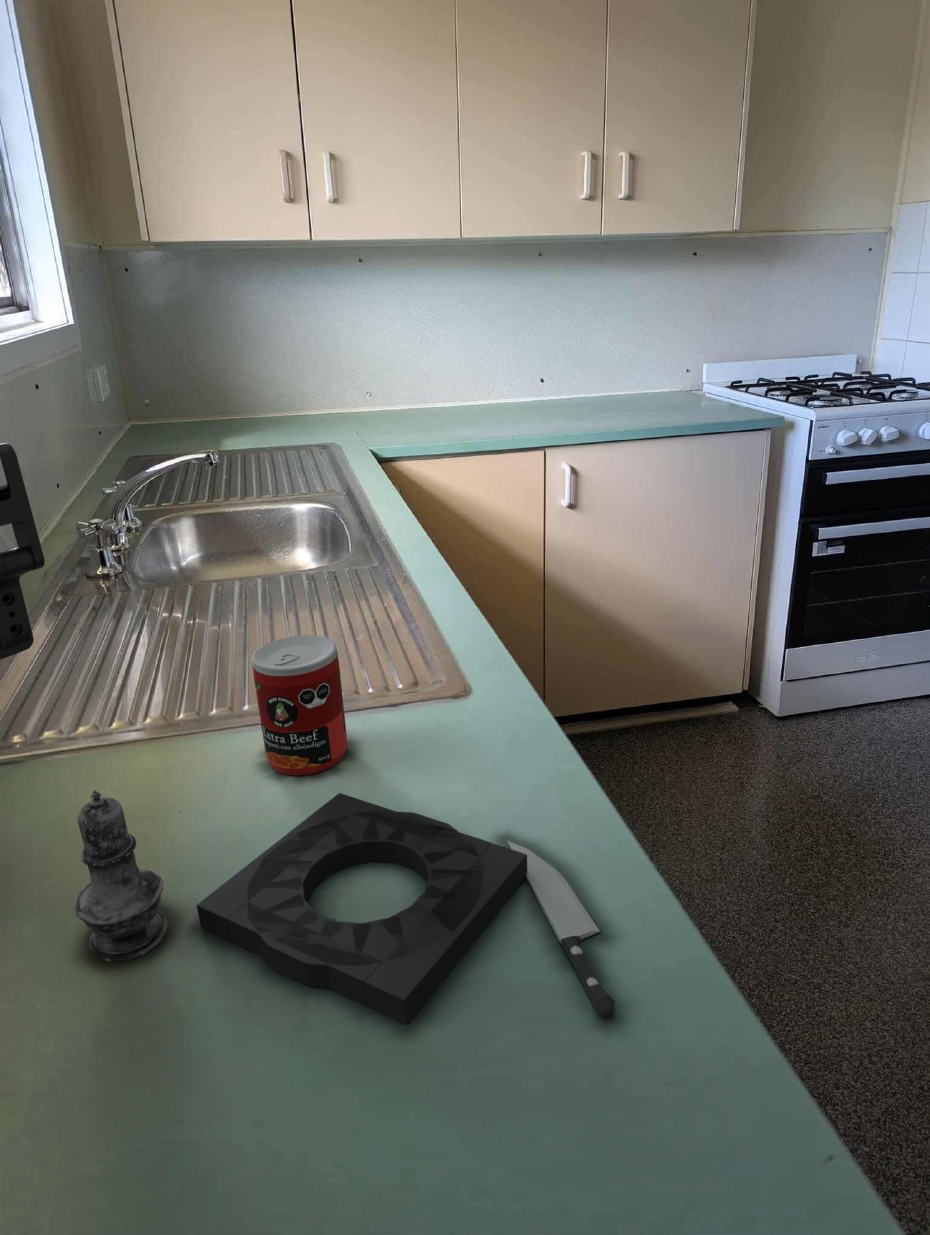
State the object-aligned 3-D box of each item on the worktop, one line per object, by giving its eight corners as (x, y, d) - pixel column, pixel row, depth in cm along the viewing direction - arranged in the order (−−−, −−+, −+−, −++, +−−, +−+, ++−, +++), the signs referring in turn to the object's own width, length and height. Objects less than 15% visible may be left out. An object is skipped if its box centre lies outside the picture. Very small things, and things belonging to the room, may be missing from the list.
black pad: (194, 932, 62) (190, 909, 61) (345, 809, 75) (343, 789, 75) (401, 1031, 53) (399, 1006, 52) (531, 871, 66) (530, 850, 66)
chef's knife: (541, 838, 71) (506, 843, 70) (542, 826, 71) (506, 831, 70) (645, 1015, 54) (600, 1024, 53) (647, 1000, 53) (601, 1009, 53)
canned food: (252, 773, 82) (235, 666, 78) (290, 731, 89) (276, 631, 85) (327, 781, 80) (314, 672, 76) (360, 738, 87) (349, 636, 83)
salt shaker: (66, 954, 61) (25, 808, 56) (123, 900, 66) (91, 761, 61) (134, 973, 59) (98, 823, 54) (189, 915, 64) (159, 774, 59)
